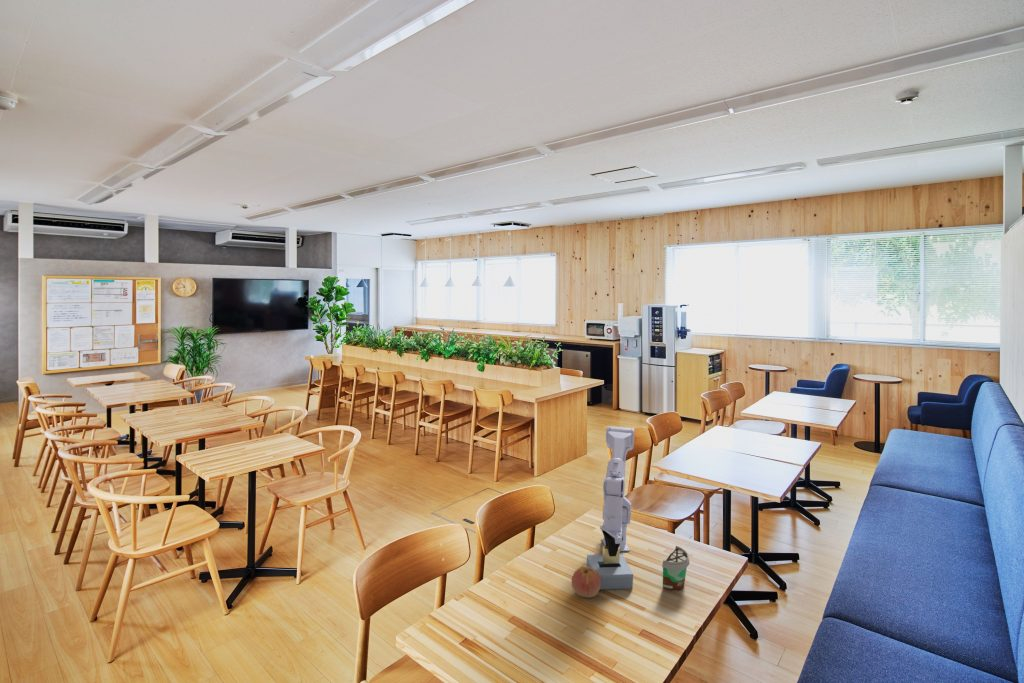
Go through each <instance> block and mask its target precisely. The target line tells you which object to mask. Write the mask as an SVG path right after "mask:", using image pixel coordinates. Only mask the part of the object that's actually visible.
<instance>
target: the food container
mask: <svg viewBox="0 0 1024 683" xmlns="http://www.w3.org/2000/svg"><path fill="white" fill-rule="evenodd" d="M690 563H691V562H690V557H689V555H688V552H687V551H686V550H685V549H683V548H682V547H680V546H677V545H675V549H674V550H673V552H671V553H670V554H669V555H668V557H667V558H666V559H665V560H664V559H663V560H662V565H661V567H662V589H663V590H665V591H671V592H672V591H673V592H677V591H681V590H683V589H684V587H685V581H686V576H687V575H686V574H687V568H688V566H689V564H690Z"/></svg>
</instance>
